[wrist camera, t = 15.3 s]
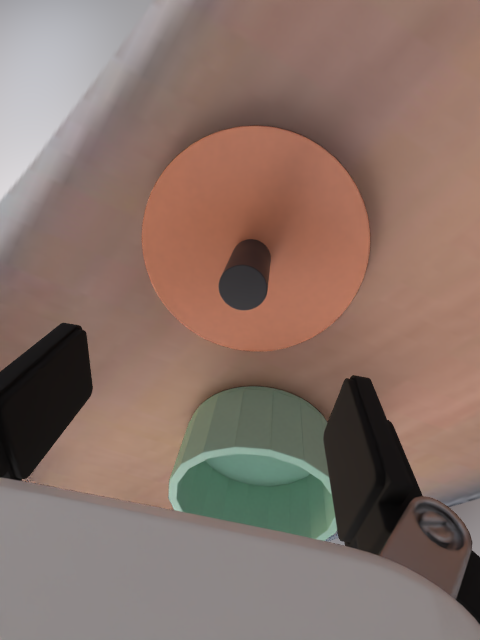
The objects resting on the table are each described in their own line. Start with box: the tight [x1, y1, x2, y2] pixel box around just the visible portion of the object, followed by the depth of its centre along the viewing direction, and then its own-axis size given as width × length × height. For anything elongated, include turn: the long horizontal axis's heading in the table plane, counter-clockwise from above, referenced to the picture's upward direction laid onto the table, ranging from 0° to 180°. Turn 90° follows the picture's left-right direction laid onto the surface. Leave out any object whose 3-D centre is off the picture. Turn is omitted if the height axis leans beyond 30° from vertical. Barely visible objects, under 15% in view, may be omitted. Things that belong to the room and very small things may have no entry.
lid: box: [142, 125, 370, 351], centre depth 20 cm, size 16×16×7 cm
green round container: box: [168, 386, 337, 541], centre depth 30 cm, size 15×15×7 cm
